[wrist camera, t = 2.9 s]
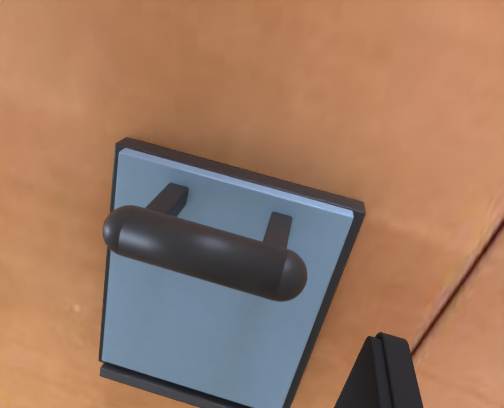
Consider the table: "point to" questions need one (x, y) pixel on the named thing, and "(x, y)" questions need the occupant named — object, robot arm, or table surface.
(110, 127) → the table surface
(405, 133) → the table surface
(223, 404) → the dark rectangular box base
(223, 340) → the handled blue panel
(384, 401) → the robot arm
